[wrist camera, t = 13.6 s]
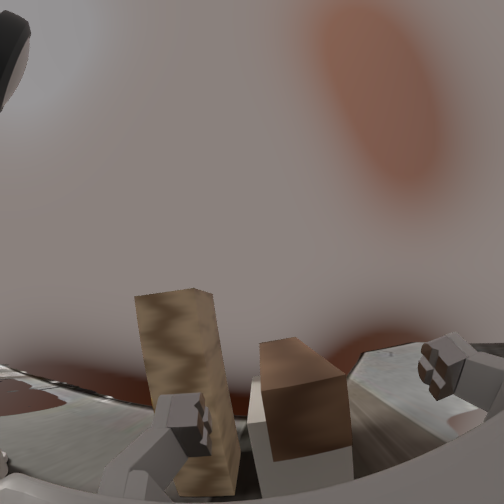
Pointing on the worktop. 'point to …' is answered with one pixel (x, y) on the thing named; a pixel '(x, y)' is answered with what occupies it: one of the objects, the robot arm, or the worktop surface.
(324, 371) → the bar
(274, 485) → the step
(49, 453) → the worktop surface
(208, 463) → the stand
